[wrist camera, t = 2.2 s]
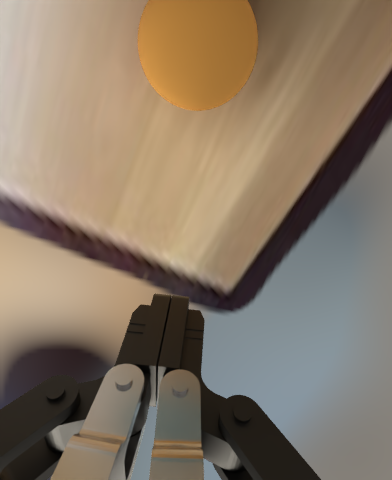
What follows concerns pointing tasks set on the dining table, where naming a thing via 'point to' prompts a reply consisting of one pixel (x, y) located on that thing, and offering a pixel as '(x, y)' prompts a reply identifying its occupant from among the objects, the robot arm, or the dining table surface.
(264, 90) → the dining table surface
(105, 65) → the dining table surface
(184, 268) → the dining table surface
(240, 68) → the ball
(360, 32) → the dining table surface
